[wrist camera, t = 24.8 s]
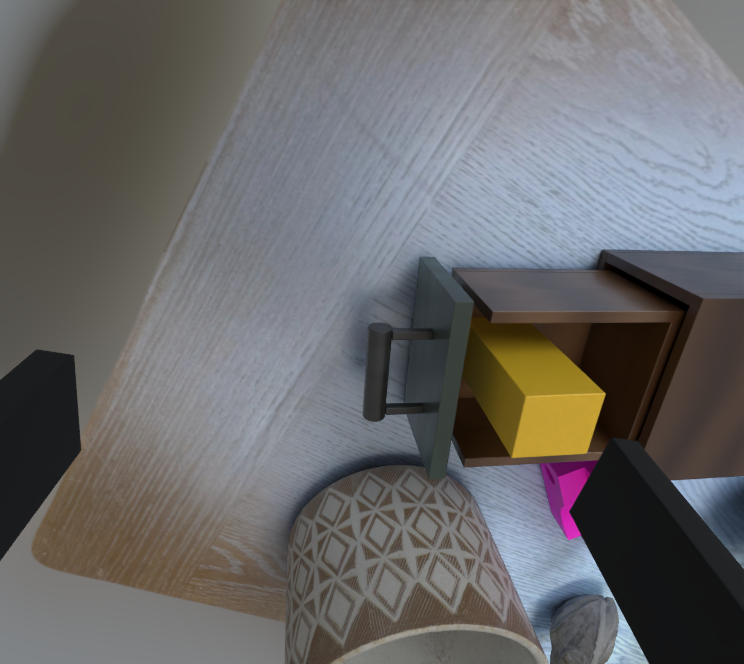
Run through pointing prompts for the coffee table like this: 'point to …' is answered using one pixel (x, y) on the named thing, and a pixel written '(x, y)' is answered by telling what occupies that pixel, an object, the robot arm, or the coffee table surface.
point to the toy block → (565, 490)
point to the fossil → (584, 630)
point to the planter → (400, 577)
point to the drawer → (553, 319)
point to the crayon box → (530, 390)
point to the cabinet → (695, 360)
